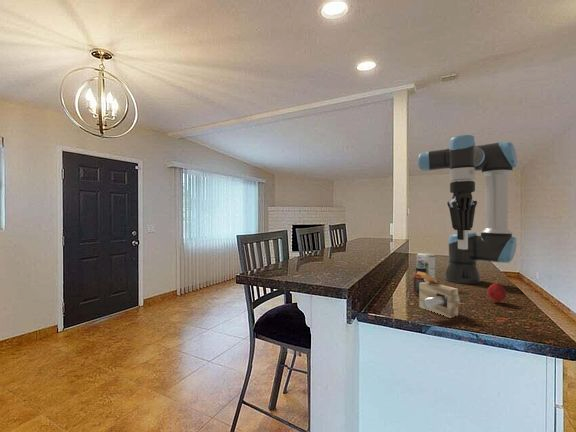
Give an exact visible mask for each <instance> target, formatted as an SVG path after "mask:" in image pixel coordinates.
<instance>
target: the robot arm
mask: <svg viewBox="0 0 576 432" xmlns="http://www.w3.org/2000/svg"><path fill="white" fill-rule="evenodd" d="M475 141H476V140H475V136H474V135H472V134H461V135H456V136H453V137H451V138H450V139H449V148H445V149H437V150H431V151H424V152H421V153H419V155H418V158H417V165H418V168H419V169H420V170H421V172H422V171H424V172H425V171H426V172H427V171H428V172H429V171H436V170H447V169H449V181H451V182H450V183H449V192H450V194H452V198H451V201H450V200H449V201H447V203H446V204H447V206H448V209H449V215H450V219H451V220H450V221H451V227H452V229H453V230H454V231H456V232H457V233H452V234H449V236H448V265H447V268H446V271H445V273H444V279H445V280H446V281H448V282H452V283H454V284H455V283H457V284H462V285H463V284H466V285H469V284H470V285H471V284H472V285H473V284H475V285H476V284H479V283H481V281H482V279H481V278H482V277H481V275H480V272H479V269H478V266H477V261H483V262H491V263H498V264H499V263H500V264H501V263H503V264H504V263H505V264H509V263H511V262H512V261H513V259H514V257H515V255H516V250H517V238H516V237H515V236H513V233H512V232H511V230H509V227H508V225H509V224H508V223H509V176H510V174H512V173H513V172H514V171H513V169H515V168H516V167H517V166H518V158H517V151H516V149H515V146H514V143H513V142H510V141H499V142H494V143H488V144H482V145H476V142H475ZM477 171H481V174H482V175H483V176H484V177H485V189H484V190H485V191H484V193H485V196H484V200H485V201H484V202H485V203H484V208H485V209H484V229H483V230H481V232H480V235H477V233H476V232H469V231H472V228H473V226H474V219H475V213H476V207H477V204H478V201H477V200H474V199H473V195H472V193H474V192H475V191H476V182H475V179H476V174H475V173H476V172H477Z"/></svg>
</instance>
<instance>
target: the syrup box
mask: <svg viewBox="0 0 576 432" xmlns="http://www.w3.org/2000/svg"><path fill="white" fill-rule="evenodd" d="M416 267H426V272H427V273H428V274H429V275H430V276H431V277H433V278H434V279H436V277H435V276H436V254H433V253H426V252H419V253H416Z"/></svg>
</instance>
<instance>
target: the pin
mask: <svg viewBox="0 0 576 432" xmlns="http://www.w3.org/2000/svg"><path fill="white" fill-rule="evenodd" d="M460 303H461V297H460V295H459V294H458V305H459V304H460ZM422 304H423V306H424V307H425V308H427V309H428V308H432V307H436V306H441V305H445V304H447V296H446V295H441V296H437V297H432V298H427V299H424V300H423V301H422Z"/></svg>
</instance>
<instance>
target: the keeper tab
mask: <svg viewBox="0 0 576 432" xmlns="http://www.w3.org/2000/svg"><path fill="white" fill-rule="evenodd" d="M417 274H418V275H420V276H421V277H423V278H424V279H426V280H428V281H429V282H432V283H436V284H440V280H437V279H436V278H435V279H434V278H433V277H431V276H430V275H428V274H427V273H424V272H419V271H417Z"/></svg>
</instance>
